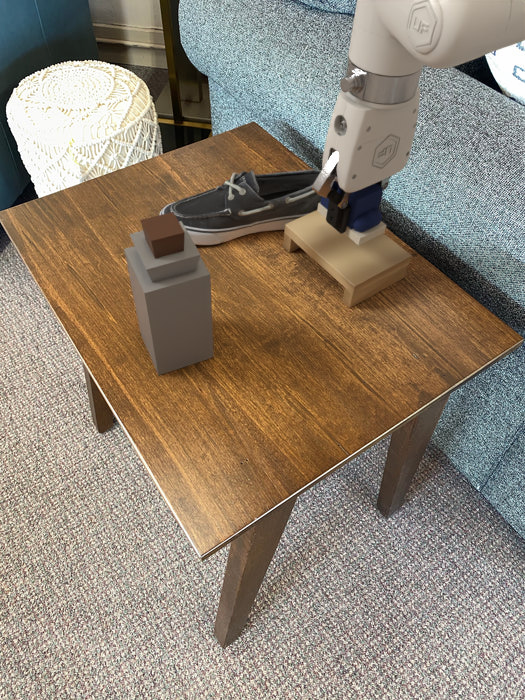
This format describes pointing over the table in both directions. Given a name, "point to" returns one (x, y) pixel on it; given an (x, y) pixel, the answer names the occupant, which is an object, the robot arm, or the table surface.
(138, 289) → the perfume bottle
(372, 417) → the table surface
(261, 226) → the boat shoe
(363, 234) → the high-top sneaker
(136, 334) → the table surface
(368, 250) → the shoe shelf
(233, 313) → the table surface
